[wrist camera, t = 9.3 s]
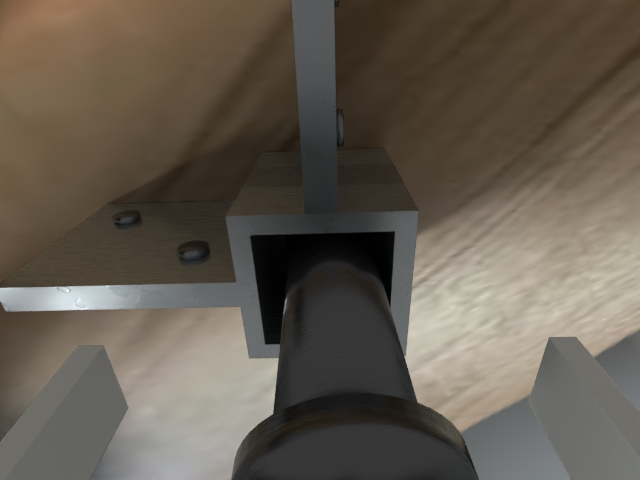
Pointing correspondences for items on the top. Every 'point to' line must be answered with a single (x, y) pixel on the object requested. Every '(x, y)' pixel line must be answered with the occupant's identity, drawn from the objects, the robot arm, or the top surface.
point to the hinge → (240, 223)
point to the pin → (345, 381)
